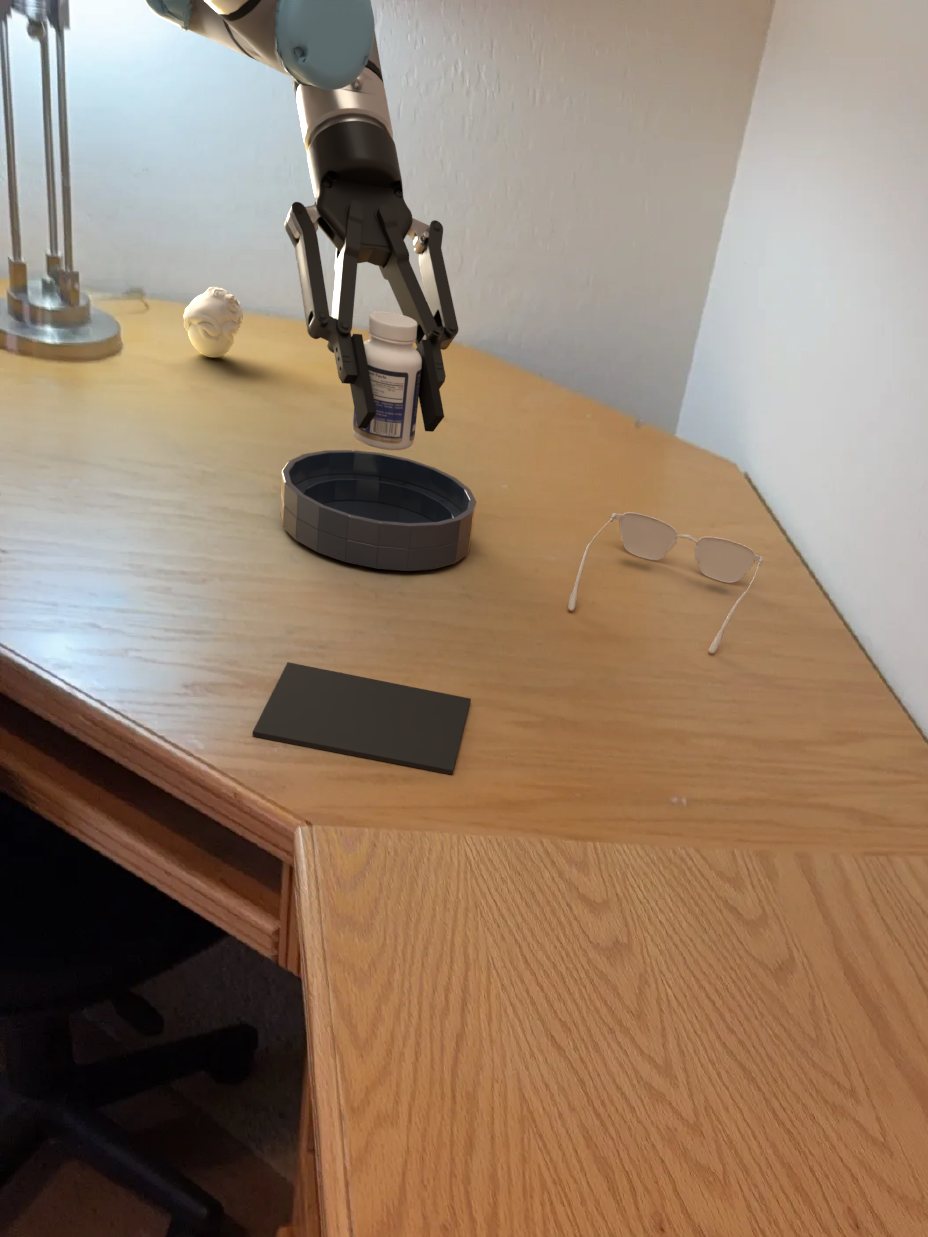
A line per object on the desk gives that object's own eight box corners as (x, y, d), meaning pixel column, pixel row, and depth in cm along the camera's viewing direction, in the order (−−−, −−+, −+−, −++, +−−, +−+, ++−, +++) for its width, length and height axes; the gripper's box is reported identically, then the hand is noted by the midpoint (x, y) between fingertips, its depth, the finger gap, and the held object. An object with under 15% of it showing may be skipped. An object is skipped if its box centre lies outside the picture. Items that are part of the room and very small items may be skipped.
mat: (252, 736, 88) (252, 731, 88) (287, 666, 97) (287, 661, 96) (452, 775, 90) (453, 770, 90) (470, 703, 98) (471, 698, 98)
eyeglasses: (754, 590, 126) (766, 550, 124) (722, 659, 113) (734, 616, 110) (606, 546, 127) (615, 505, 125) (557, 609, 114) (565, 565, 111)
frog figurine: (254, 362, 149) (255, 295, 144) (205, 367, 144) (205, 298, 139) (219, 345, 151) (219, 279, 146) (170, 349, 146) (169, 281, 142)
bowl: (261, 550, 111) (262, 498, 108) (303, 484, 124) (305, 436, 121) (457, 591, 113) (463, 541, 110) (478, 522, 126) (484, 475, 123)
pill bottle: (380, 425, 115) (391, 306, 109) (425, 447, 114) (439, 326, 107) (338, 433, 112) (347, 310, 105) (384, 455, 110) (396, 331, 104)
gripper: (252, 97, 100) (307, 393, 101) (467, 133, 109) (516, 406, 110) (231, 161, 107) (284, 438, 108) (435, 190, 115) (482, 447, 116)
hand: (401, 421), depth 109 cm, fingers closed on pill bottle, 5 cm apart
